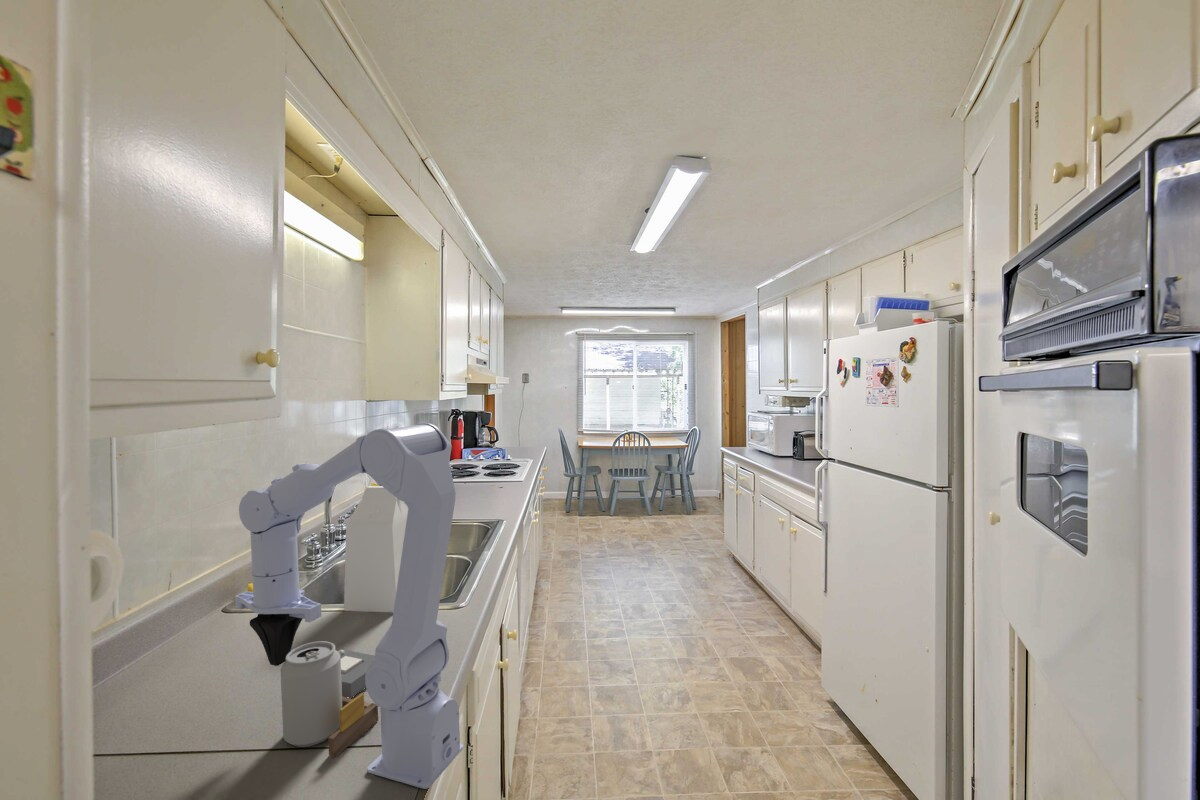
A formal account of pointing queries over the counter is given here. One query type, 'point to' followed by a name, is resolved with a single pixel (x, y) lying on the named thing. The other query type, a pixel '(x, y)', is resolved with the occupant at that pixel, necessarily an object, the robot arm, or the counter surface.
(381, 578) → the milk
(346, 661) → the block
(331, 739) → the lockout bracket
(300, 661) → the can
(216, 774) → the counter surface
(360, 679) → the panel
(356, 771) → the counter surface
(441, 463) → the robot arm
